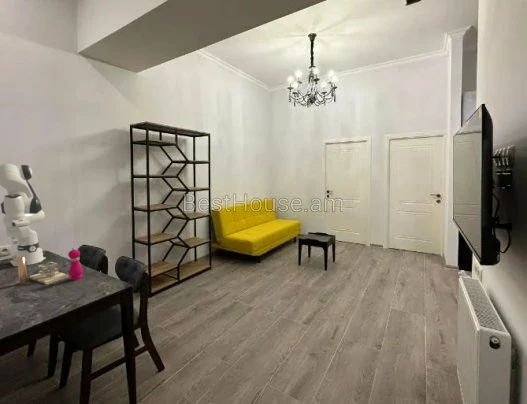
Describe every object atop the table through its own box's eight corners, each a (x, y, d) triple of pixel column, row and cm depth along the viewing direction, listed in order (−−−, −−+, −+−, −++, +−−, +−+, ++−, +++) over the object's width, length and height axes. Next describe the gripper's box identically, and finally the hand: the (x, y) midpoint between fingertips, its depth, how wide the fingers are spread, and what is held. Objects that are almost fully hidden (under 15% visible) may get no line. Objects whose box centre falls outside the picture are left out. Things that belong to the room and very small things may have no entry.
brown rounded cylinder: (18, 283, 160) (15, 257, 158) (26, 281, 163) (23, 256, 161) (21, 284, 158) (18, 258, 156) (29, 282, 161) (26, 256, 159)
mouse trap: (30, 278, 167) (28, 264, 166) (52, 271, 178) (50, 258, 177) (46, 284, 158) (44, 269, 157) (68, 277, 169) (67, 263, 167)
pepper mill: (76, 281, 162) (73, 249, 160) (66, 280, 163) (63, 248, 161) (86, 276, 169) (83, 246, 167) (76, 275, 170) (73, 245, 168)
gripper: (1, 221, 158) (4, 244, 159) (17, 224, 148) (20, 248, 150) (14, 219, 163) (17, 241, 165) (31, 222, 154) (34, 245, 156)
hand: (19, 244), depth 157 cm, fingers open, 8 cm apart
